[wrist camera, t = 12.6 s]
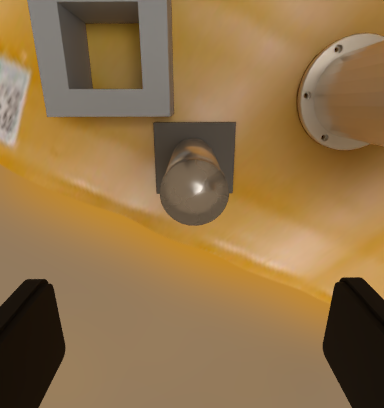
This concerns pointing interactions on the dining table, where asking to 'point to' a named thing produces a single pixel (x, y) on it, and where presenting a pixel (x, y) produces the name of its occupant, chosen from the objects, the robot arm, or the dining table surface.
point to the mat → (207, 131)
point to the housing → (80, 64)
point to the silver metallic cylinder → (194, 184)
